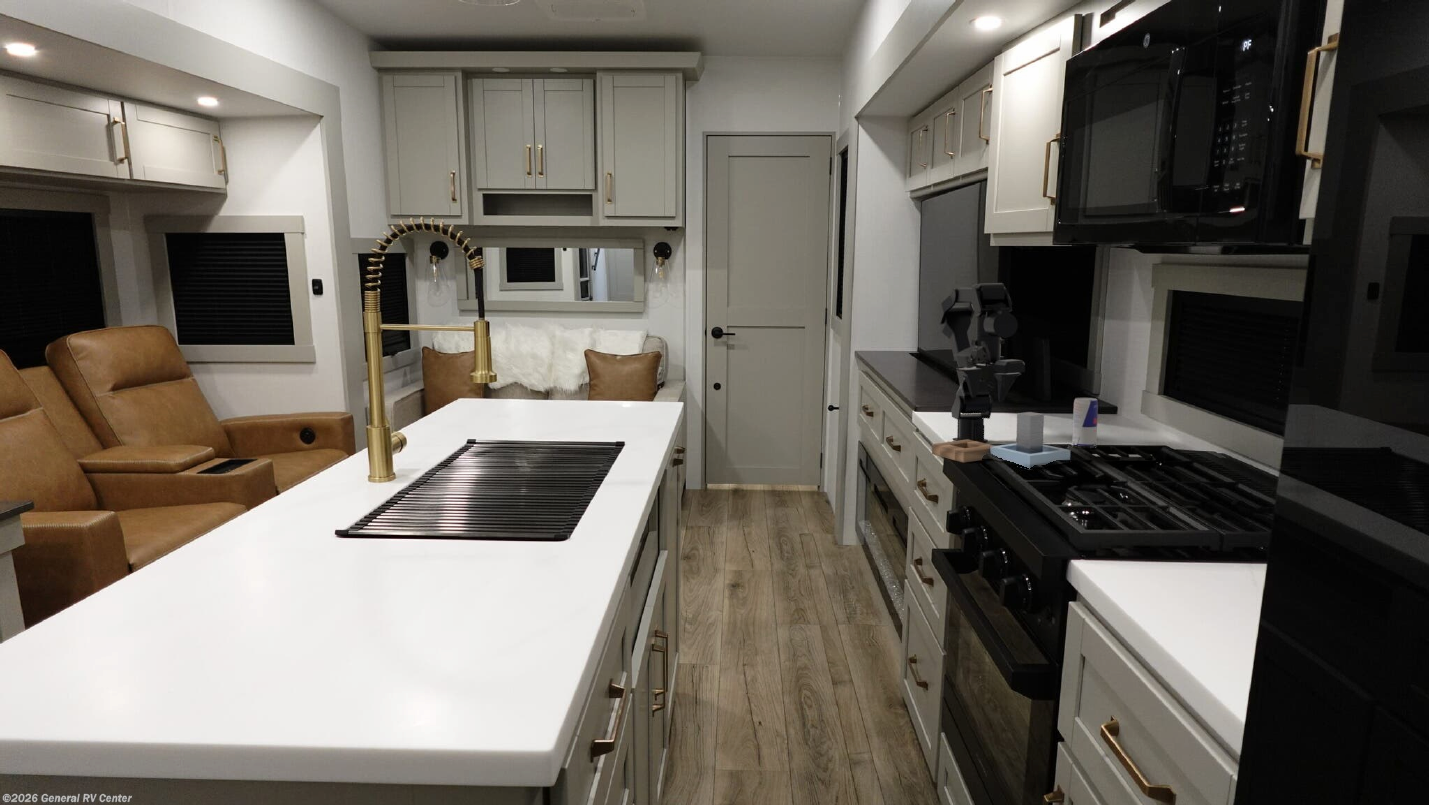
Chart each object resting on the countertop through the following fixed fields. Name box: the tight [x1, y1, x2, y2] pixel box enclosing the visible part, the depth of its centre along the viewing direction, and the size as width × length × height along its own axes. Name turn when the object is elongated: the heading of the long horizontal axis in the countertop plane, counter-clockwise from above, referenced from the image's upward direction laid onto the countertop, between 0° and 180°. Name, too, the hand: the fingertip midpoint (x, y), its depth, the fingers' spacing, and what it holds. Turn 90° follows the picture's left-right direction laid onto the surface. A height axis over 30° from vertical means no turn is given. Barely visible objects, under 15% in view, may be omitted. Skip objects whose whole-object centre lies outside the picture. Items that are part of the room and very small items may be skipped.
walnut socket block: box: [931, 439, 995, 463], centre depth 188 cm, size 11×11×2 cm
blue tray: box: [990, 442, 1071, 470], centre depth 180 cm, size 12×12×3 cm
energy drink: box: [1071, 397, 1099, 447], centre depth 193 cm, size 5×5×12 cm
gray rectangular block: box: [1015, 411, 1045, 454], centre depth 180 cm, size 4×4×10 cm
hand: (987, 399), depth 193 cm, fingers open, 9 cm apart
